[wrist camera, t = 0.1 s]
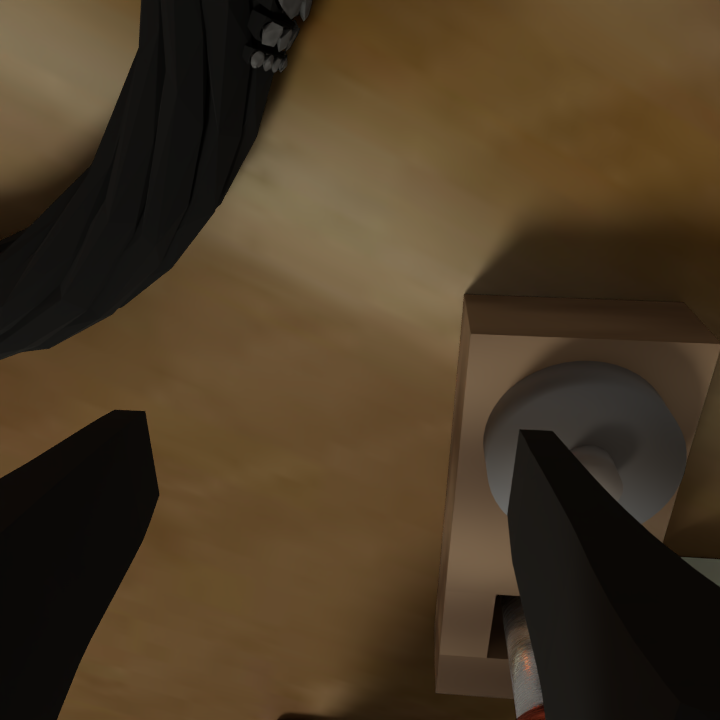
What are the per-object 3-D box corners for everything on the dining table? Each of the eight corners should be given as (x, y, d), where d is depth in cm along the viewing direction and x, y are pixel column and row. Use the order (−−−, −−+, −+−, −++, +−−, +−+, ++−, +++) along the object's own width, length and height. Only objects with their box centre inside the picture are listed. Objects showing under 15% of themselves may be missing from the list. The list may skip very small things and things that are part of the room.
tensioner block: (595, 642, 29) (631, 768, 24) (434, 631, 29) (437, 752, 24) (683, 302, 21) (760, 387, 16) (464, 294, 22) (477, 374, 17)
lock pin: (557, 597, 28) (603, 792, 21) (485, 593, 28) (507, 784, 21) (568, 544, 26) (622, 733, 19) (492, 539, 26) (518, 725, 20)
